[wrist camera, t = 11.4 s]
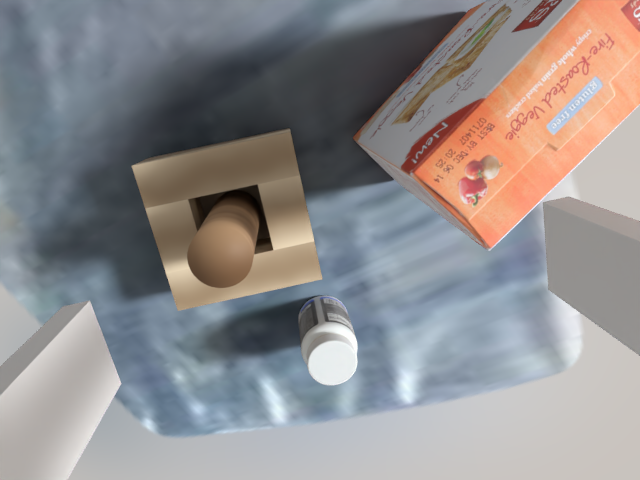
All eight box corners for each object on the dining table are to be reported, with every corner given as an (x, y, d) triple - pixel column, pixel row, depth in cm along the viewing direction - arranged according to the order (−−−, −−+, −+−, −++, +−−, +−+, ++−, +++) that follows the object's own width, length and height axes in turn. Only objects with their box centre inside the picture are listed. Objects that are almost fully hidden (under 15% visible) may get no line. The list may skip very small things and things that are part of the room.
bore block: (149, 157, 40) (131, 165, 35) (289, 127, 40) (290, 131, 35) (189, 287, 44) (177, 310, 39) (318, 259, 44) (322, 279, 39)
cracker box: (465, 5, 39) (662, -94, 19) (512, 59, 40) (741, 22, 20) (345, 135, 41) (406, 172, 21) (394, 182, 42) (495, 259, 22)
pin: (208, 195, 40) (179, 234, 29) (254, 185, 40) (244, 220, 29) (220, 239, 42) (197, 293, 30) (265, 230, 42) (259, 280, 30)
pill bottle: (308, 345, 46) (313, 398, 38) (291, 304, 45) (293, 349, 37) (354, 329, 46) (369, 378, 38) (339, 287, 45) (351, 328, 37)
